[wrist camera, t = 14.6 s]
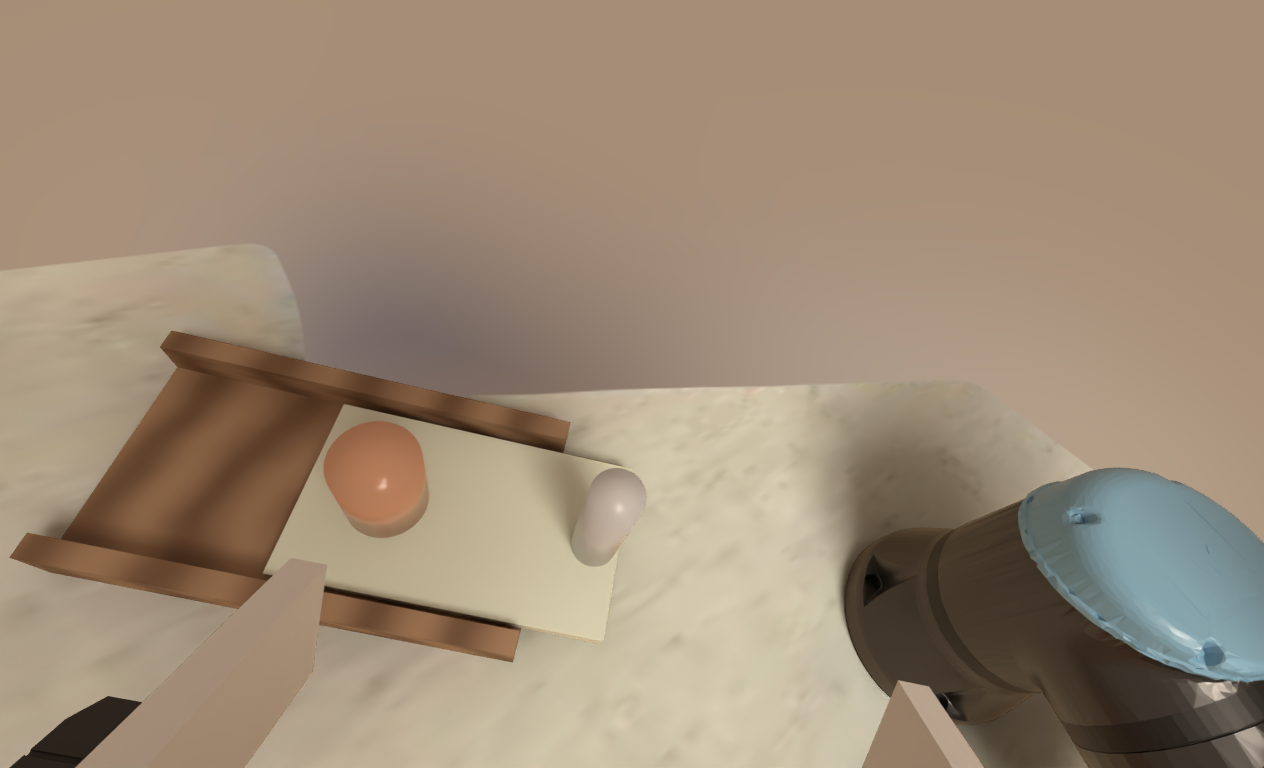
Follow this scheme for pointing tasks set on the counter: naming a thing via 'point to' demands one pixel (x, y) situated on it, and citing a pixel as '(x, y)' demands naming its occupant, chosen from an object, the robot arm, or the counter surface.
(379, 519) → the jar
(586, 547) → the cream flat panel
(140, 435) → the tray
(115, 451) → the counter surface
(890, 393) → the counter surface
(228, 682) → the robot arm
